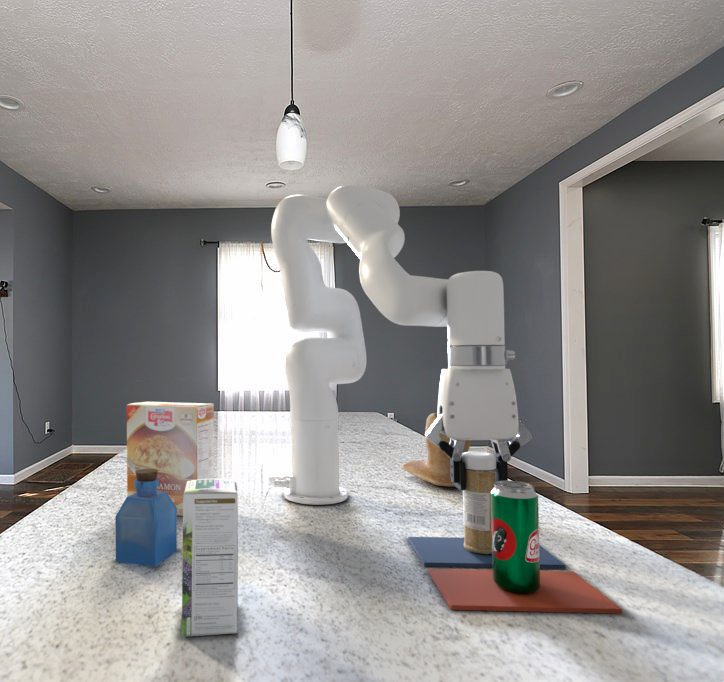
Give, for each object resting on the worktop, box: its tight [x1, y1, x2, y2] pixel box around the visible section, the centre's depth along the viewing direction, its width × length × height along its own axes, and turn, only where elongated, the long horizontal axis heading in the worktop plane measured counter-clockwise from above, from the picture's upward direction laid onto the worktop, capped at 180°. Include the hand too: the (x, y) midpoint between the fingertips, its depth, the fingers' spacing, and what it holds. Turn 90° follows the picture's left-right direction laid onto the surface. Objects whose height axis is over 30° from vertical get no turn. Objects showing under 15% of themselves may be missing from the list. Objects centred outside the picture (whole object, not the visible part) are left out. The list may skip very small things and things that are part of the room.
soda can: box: [491, 480, 541, 595], centre depth 63 cm, size 5×5×12 cm
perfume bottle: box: [115, 468, 178, 568], centre depth 75 cm, size 6×6×12 cm
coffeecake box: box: [126, 401, 215, 517], centre depth 98 cm, size 15×7×20 cm, turn 68°
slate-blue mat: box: [407, 536, 566, 569], centre depth 74 cm, size 18×10×1 cm, turn 86°
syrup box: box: [181, 478, 239, 637], centre depth 56 cm, size 6×6×14 cm
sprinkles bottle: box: [462, 451, 496, 554], centre depth 75 cm, size 5×5×14 cm
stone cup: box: [401, 412, 473, 487], centre depth 116 cm, size 15×12×15 cm
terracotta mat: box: [427, 568, 623, 615], centre depth 62 cm, size 18×10×1 cm, turn 86°
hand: (478, 486), depth 75 cm, fingers closed on sprinkles bottle, 4 cm apart
